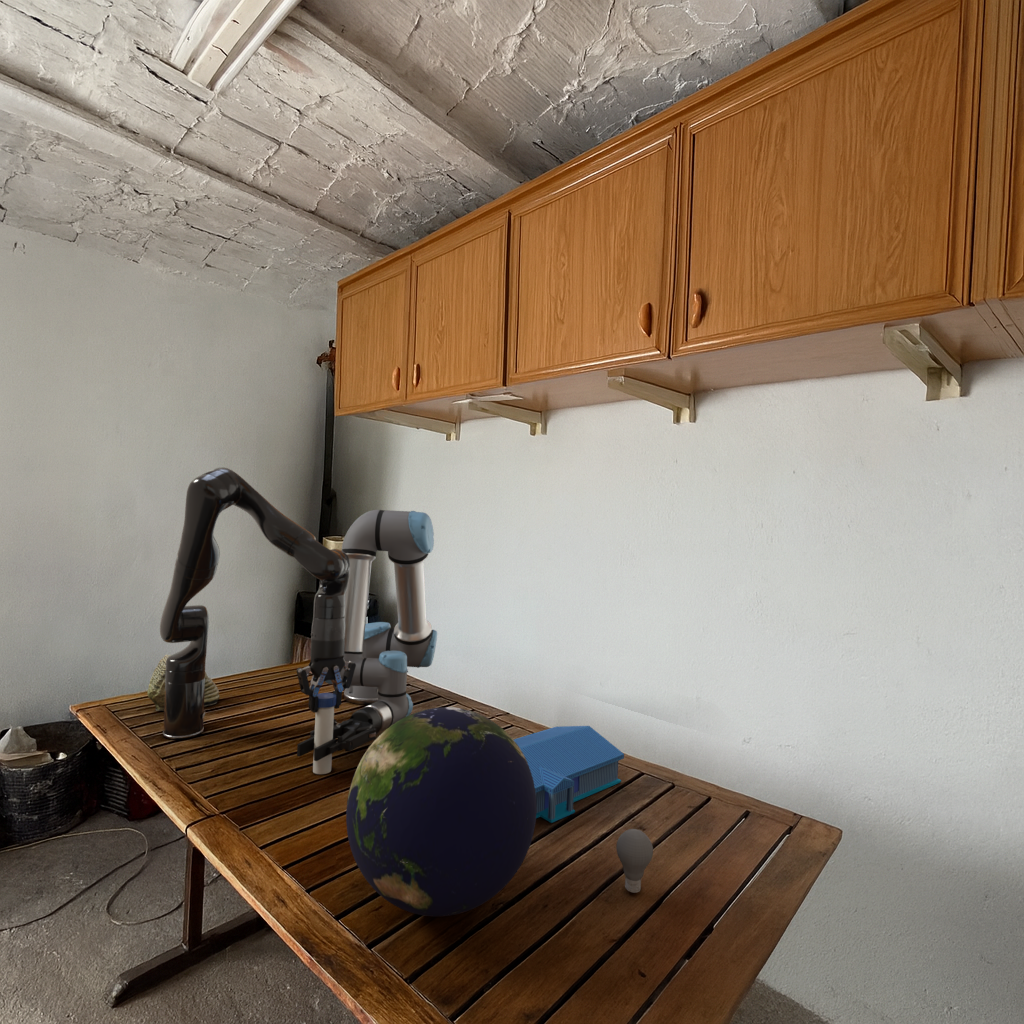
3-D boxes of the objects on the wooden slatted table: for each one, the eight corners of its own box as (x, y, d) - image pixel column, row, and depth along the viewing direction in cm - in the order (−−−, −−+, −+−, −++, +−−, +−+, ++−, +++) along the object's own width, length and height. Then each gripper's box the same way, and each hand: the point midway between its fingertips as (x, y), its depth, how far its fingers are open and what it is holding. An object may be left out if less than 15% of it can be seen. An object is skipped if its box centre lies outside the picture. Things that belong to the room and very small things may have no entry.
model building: (505, 843, 118) (507, 790, 118) (429, 794, 136) (431, 748, 136) (632, 786, 145) (634, 743, 144) (555, 752, 163) (557, 713, 163)
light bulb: (610, 879, 108) (613, 822, 108) (644, 879, 109) (647, 822, 109) (619, 902, 102) (622, 840, 102) (655, 901, 103) (658, 840, 103)
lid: (321, 709, 143) (321, 700, 143) (309, 704, 146) (310, 695, 146) (340, 705, 146) (340, 696, 146) (328, 699, 150) (329, 691, 150)
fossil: (144, 707, 182) (145, 655, 182) (212, 696, 194) (213, 647, 194) (151, 716, 175) (153, 662, 175) (221, 703, 188) (223, 653, 188)
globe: (300, 927, 93) (307, 725, 93) (407, 832, 121) (414, 676, 120) (484, 995, 82) (495, 765, 81) (556, 873, 110) (564, 701, 109)
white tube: (309, 773, 145) (312, 700, 145) (317, 766, 149) (321, 695, 149) (326, 775, 144) (329, 702, 144) (334, 768, 148) (337, 696, 148)
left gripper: (305, 642, 139) (302, 720, 139) (364, 635, 148) (361, 708, 148) (291, 636, 144) (288, 710, 144) (348, 630, 154) (345, 700, 154)
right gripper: (397, 741, 159) (337, 777, 138) (342, 729, 166) (276, 761, 145) (398, 712, 159) (338, 743, 138) (343, 700, 166) (277, 728, 145)
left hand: (325, 709), depth 146 cm, fingers closed on lid, 4 cm apart
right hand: (307, 752), depth 141 cm, fingers closed on white tube, 4 cm apart
